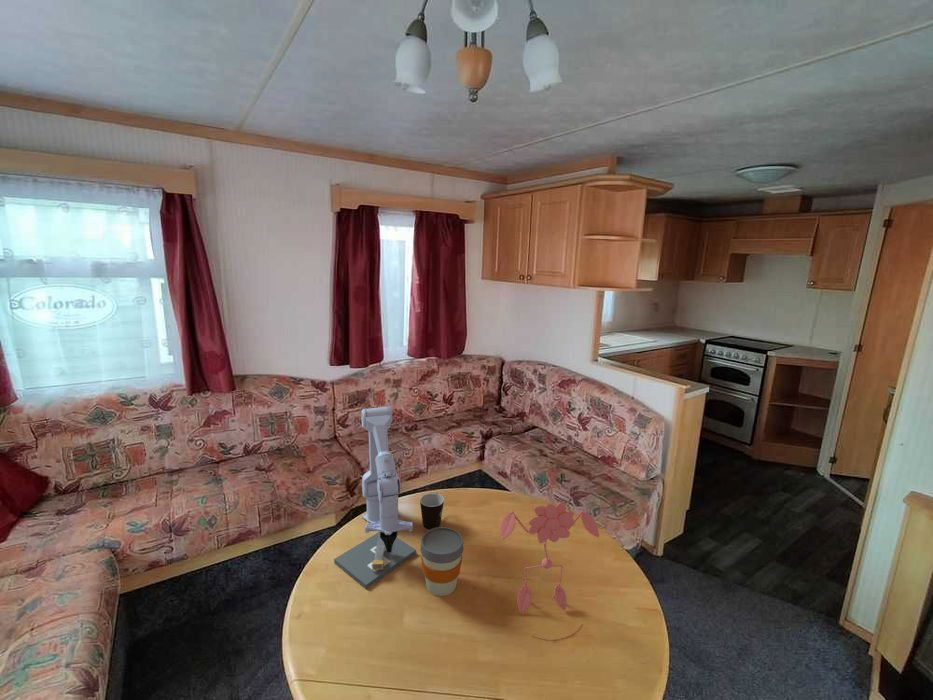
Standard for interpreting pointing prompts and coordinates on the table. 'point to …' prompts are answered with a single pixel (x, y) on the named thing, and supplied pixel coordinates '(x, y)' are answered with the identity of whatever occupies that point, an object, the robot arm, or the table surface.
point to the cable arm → (379, 555)
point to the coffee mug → (431, 510)
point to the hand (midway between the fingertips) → (389, 550)
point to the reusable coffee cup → (441, 559)
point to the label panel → (362, 556)
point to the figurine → (548, 526)
